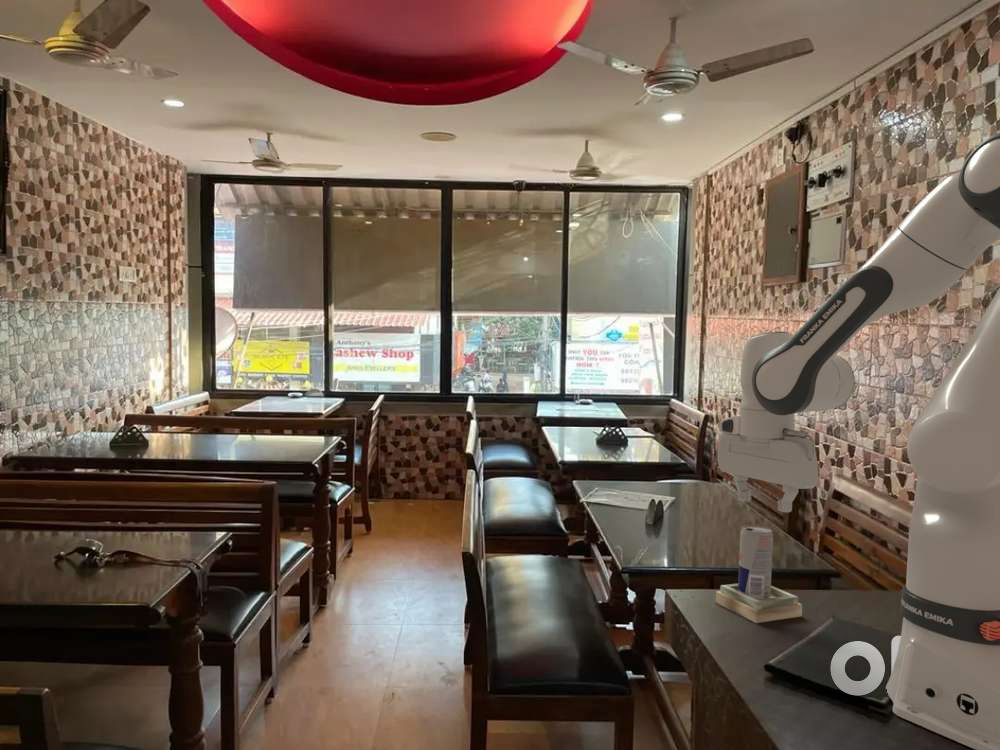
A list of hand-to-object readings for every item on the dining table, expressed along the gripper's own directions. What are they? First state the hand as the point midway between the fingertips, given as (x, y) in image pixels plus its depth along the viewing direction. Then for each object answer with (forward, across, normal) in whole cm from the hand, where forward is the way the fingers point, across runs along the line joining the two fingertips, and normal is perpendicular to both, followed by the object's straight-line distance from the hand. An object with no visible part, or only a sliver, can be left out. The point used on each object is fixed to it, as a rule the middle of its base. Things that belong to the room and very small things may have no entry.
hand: (763, 506), depth 123 cm
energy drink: (+16, +1, +1) cm, 16 cm away
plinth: (+18, +1, 0) cm, 18 cm away
